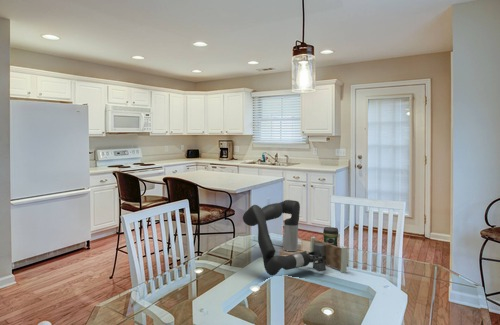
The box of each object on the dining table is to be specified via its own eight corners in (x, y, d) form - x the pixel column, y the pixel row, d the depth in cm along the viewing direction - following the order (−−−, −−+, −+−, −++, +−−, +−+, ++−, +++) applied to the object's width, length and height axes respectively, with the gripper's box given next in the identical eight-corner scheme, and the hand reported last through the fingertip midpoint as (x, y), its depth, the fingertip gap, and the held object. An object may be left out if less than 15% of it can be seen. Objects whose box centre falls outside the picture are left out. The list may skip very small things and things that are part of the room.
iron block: (312, 268, 187) (313, 244, 187) (319, 267, 190) (319, 242, 189) (319, 271, 183) (320, 246, 183) (325, 269, 186) (326, 245, 185)
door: (313, 259, 200) (314, 239, 200) (315, 259, 201) (315, 239, 201) (341, 270, 183) (341, 248, 182) (342, 270, 184) (343, 248, 183)
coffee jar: (338, 255, 213) (339, 226, 212) (337, 259, 205) (338, 229, 204) (322, 253, 215) (323, 225, 215) (321, 257, 208) (322, 228, 207)
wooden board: (309, 260, 202) (310, 237, 201) (313, 259, 203) (314, 236, 203) (342, 273, 181) (343, 247, 180) (346, 272, 183) (347, 247, 182)
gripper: (289, 263, 183) (310, 258, 192) (307, 271, 171) (329, 265, 180) (289, 249, 183) (311, 245, 192) (308, 256, 171) (330, 252, 180)
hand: (320, 255), depth 186 cm, fingers open, 8 cm apart
